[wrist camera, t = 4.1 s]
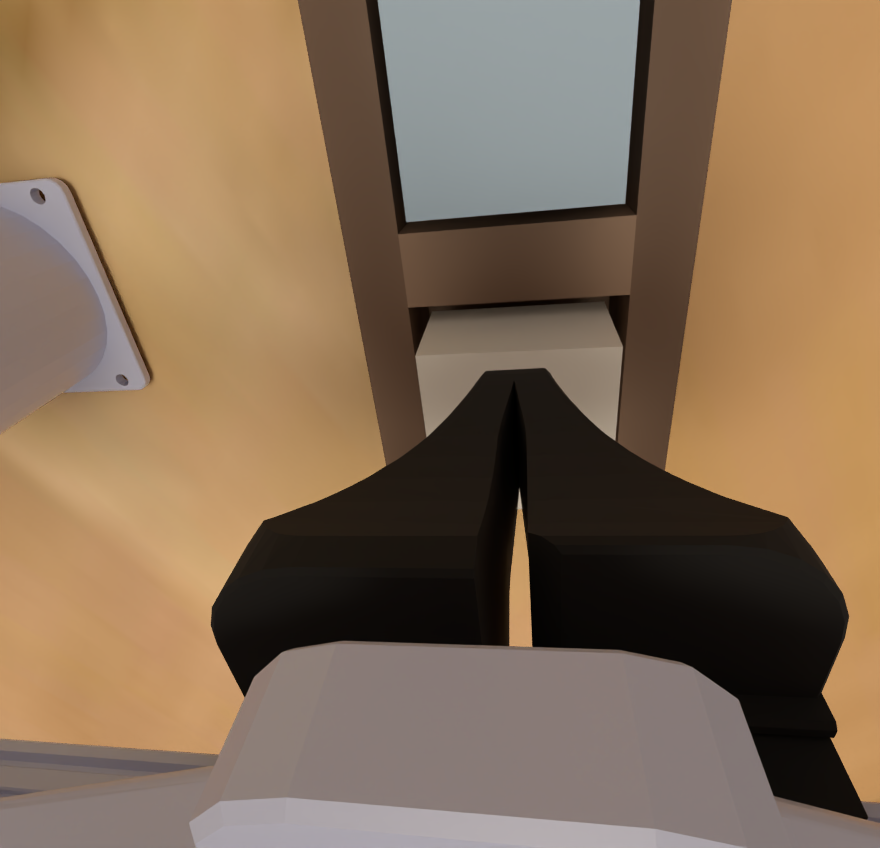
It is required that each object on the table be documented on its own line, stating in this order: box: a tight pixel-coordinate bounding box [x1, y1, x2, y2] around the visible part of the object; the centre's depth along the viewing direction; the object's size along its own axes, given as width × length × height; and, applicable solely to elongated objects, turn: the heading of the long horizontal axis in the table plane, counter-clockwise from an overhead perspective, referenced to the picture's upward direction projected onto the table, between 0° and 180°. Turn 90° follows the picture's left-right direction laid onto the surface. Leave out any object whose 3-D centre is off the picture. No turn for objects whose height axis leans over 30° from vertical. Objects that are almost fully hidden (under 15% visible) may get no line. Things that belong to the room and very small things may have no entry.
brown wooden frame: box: [298, 0, 732, 471], centre depth 16 cm, size 9×16×4 cm, turn 6°
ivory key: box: [415, 302, 623, 509], centre depth 16 cm, size 5×5×3 cm
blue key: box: [378, 0, 640, 222], centre depth 12 cm, size 5×5×3 cm
